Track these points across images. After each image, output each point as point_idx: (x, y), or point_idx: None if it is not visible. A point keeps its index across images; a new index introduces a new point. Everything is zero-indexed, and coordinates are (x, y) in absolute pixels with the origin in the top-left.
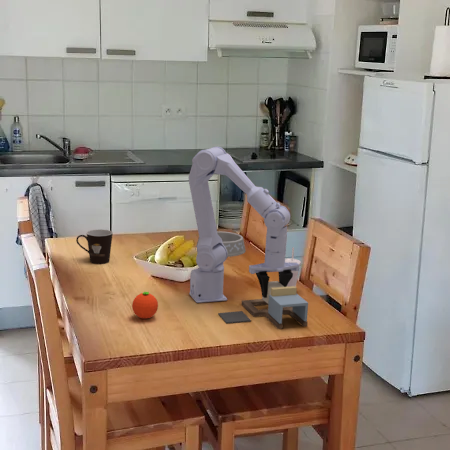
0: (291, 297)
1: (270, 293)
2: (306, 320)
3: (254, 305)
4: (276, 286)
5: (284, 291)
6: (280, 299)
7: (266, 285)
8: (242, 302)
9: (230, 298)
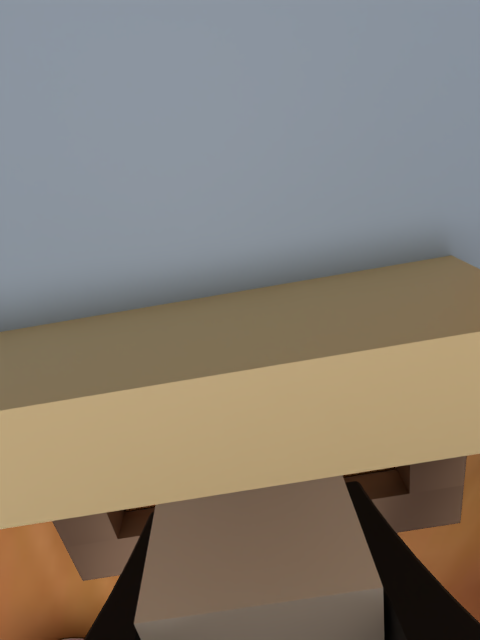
0: (48, 174)
1: (326, 503)
2: None
3: (365, 476)
4: (254, 612)
5: (190, 335)
6: (352, 32)
7: (424, 623)
8: (456, 501)
9: (468, 575)
